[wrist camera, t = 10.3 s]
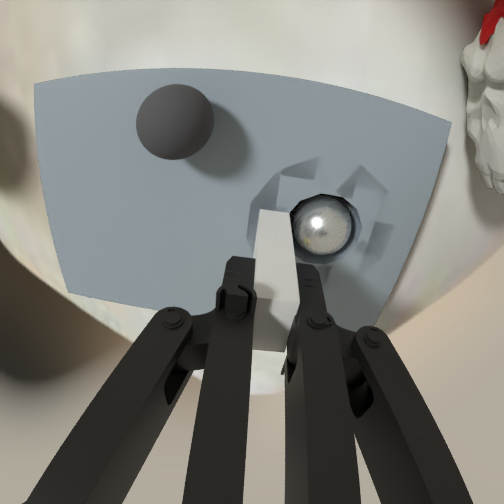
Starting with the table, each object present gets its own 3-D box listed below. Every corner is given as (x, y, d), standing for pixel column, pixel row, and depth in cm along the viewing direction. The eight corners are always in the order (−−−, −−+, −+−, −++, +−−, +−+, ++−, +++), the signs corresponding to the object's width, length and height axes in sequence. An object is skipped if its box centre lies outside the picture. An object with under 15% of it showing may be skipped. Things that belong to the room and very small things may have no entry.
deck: (81, 273, 23) (68, 292, 21) (57, 79, 14) (34, 84, 12) (363, 310, 23) (370, 332, 21) (430, 114, 15) (451, 122, 12)
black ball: (151, 147, 14) (123, 168, 12) (153, 82, 13) (123, 87, 10) (216, 151, 15) (203, 173, 12) (223, 84, 13) (209, 86, 10)
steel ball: (278, 239, 19) (310, 274, 17) (284, 190, 17) (321, 222, 14) (322, 226, 20) (355, 257, 18) (331, 181, 18) (369, 209, 16)
